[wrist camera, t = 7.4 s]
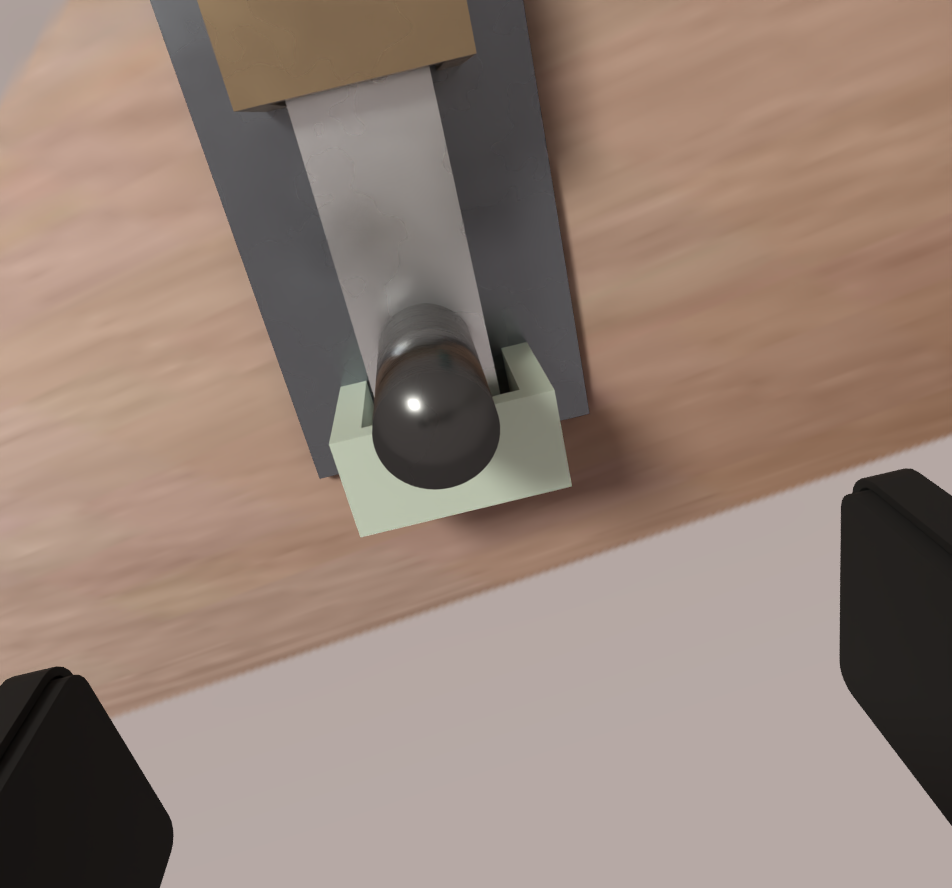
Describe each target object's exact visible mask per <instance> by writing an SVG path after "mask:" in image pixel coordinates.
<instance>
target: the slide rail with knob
mask: <svg viewBox="0 0 952 888" xmlns="http://www.w3.org/2000/svg"><path fill="white" fill-rule="evenodd" d="M150 2H151V5H152V7H153V10H154V13H155V16H156V19H157V22H158V24H159V27H160V30H161V33H162V36H163V38H164V41H165V44H166V47H167V50H168V53H169V55H170V58H171V61H172V64H173V67H174V69H175V72H176V75H177V78H178V81H179V84H180V86H181V89H182V92H183V95H184V98H185V100H186V103H187V106H188V109H189V112H190V115H191V117H192V120H193V123H194V126H195V129H196V131H197V134H198V137H199V140H200V143H201V146H202V148H203V151H204V154H205V157H206V160H207V162H208V165H209V168H210V171H211V174H212V177H213V179H214V182H215V185H216V188H217V191H218V193H219V196H220V199H221V202H222V205H223V208H224V210H225V213H226V216H227V219H228V222H229V224H230V227H231V230H232V233H233V236H234V239H235V241H236V244H237V247H238V250H239V253H240V255H241V258H242V261H243V264H244V267H245V270H246V272H247V275H248V278H249V281H250V284H251V286H252V289H253V292H254V295H255V298H256V301H257V303H258V306H259V309H260V312H261V315H262V317H263V320H264V323H265V326H266V329H267V332H268V334H269V337H270V340H271V343H272V346H273V348H274V351H275V354H276V357H277V360H278V363H279V365H280V368H281V371H282V374H283V377H284V379H285V382H286V385H287V388H288V391H289V394H290V396H291V399H292V402H293V405H294V408H295V410H296V413H297V416H298V419H299V422H300V425H301V427H302V430H303V433H304V436H305V439H306V441H307V444H308V447H309V450H310V453H311V456H312V458H313V461H314V464H315V467H316V470H317V472H318V475H319V478H320V479H321V478H325V477H329V476H333V475H337V474H339V473H338V470H337V467H336V464H335V461H334V458H333V455H332V452H331V449H330V446H329V441H330V437H331V432H332V427H333V422H334V417H335V412H336V407H337V402H338V397H339V392H340V387H342V386H346V385H351V384H355V383H359V382H363V381H367V384H368V388H369V391H370V394H371V397H372V401H373V404H374V395H373V392H372V389H371V385H370V382H369V379H368V375H367V372H366V369H365V365H364V362H363V359H362V355H361V352H360V349H359V345H358V342H357V339H356V335H355V332H354V329H353V325H352V322H351V319H350V315H349V312H348V309H347V305H346V302H345V299H344V295H343V292H342V289H341V285H340V282H339V279H338V275H337V272H336V269H335V265H334V262H333V259H332V255H331V252H330V249H329V245H328V242H327V239H326V235H325V232H324V229H323V225H322V222H321V219H320V215H319V212H318V209H317V205H316V202H315V199H314V195H313V192H312V189H311V185H310V182H309V179H308V175H307V172H306V169H305V165H304V162H303V159H302V155H301V152H300V149H299V145H298V142H297V139H296V135H295V132H294V129H293V125H292V122H291V119H290V115H289V112H288V109H287V105H286V102H285V101H286V100H290V99H294V98H298V97H303V96H307V95H311V94H315V93H319V92H323V91H328V90H332V89H336V88H340V87H344V86H348V85H352V84H357V83H361V82H365V81H369V80H373V79H377V78H382V77H386V76H390V75H394V74H398V73H402V72H406V71H411V70H415V69H419V68H423V67H427V66H429V68H430V72H431V77H432V81H433V86H434V91H435V95H436V100H437V104H438V109H439V114H440V118H441V123H442V127H443V132H444V137H445V141H446V146H447V151H448V155H449V160H450V164H451V169H452V174H453V178H454V183H455V187H456V192H457V197H458V201H459V206H460V210H461V215H462V220H463V224H464V229H465V234H466V238H467V243H468V247H469V252H470V257H471V261H472V266H473V270H474V275H475V280H476V284H477V289H478V293H479V298H480V303H481V307H482V312H483V317H484V321H485V326H486V330H487V335H488V340H489V344H490V349H491V353H492V358H493V363H494V367H495V372H496V376H497V381H498V386H499V390H500V394H504V393H508V392H510V389H509V384H508V379H507V375H506V370H505V365H504V360H503V356H502V351H501V348H504V347H508V346H512V345H517V344H521V343H525V342H527V343H528V345H529V347H530V348H531V350H532V352H533V354H534V355H535V357H536V359H537V361H538V362H539V364H540V366H541V367H542V369H543V371H544V373H545V374H546V376H547V378H548V380H549V381H550V383H551V385H552V387H553V388H554V390H555V396H556V401H557V407H558V412H559V418H560V421H561V420H565V419H570V418H574V417H578V416H582V415H586V414H589V408H588V402H587V396H586V390H585V383H584V377H583V371H582V365H581V358H580V352H579V346H578V340H577V333H576V327H575V321H574V315H573V309H572V302H571V296H570V290H569V284H568V277H567V271H566V265H565V259H564V253H563V246H562V240H561V234H560V228H559V221H558V215H557V209H556V203H555V196H554V190H553V184H552V178H551V172H550V165H549V159H548V153H547V147H546V140H545V134H544V128H543V122H542V116H541V109H540V103H539V97H538V91H537V84H536V78H535V72H534V66H533V59H532V53H531V47H530V41H529V35H528V28H527V22H526V16H525V10H524V3H523V0H150Z"/></svg>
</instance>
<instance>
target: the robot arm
mask: <svg viewBox="0 0 952 888" xmlns="http://www.w3.org/2000/svg"><path fill="white" fill-rule="evenodd" d="M840 570H841V572H840V668H841V672H842V676H843V678H844V681H845V683H846V685H847V687H848V689H849V691H850V692H851V694H852V695H853V697H854V698H855V699H856V700H857V702H858V703H859V704H860V706H861V707H862V708H863V710H864V711H865V712H866V714H867V715H868V716H869V717H870V719H871V720H872V722H873V723H874V724H875V726H876V727H877V728H878V729H879V731H880V732H881V733H882V735H883V736H884V737H885V739H886V740H887V741H888V742H889V744H890V745H891V747H892V748H893V749H894V750H895V752H896V753H897V754H898V756H899V757H900V758H901V760H902V761H903V762H904V763H905V765H906V766H907V767H908V769H909V770H910V772H911V773H912V774H913V775H914V777H915V778H916V779H917V781H918V782H919V783H920V784H921V786H922V787H923V789H924V790H925V791H926V792H927V794H928V795H929V796H930V798H931V799H932V800H933V802H934V803H935V804H936V806H937V807H938V808H939V809H940V811H941V812H942V814H943V815H944V816H945V817H946V819H947V820H948V821H949V823H950V824H951V825H952V496H951V495H950V494H948V493H947V492H945V491H944V490H943V489H941V488H940V487H939V486H937V485H936V484H934V483H933V482H932V481H930V480H929V479H927V478H926V477H924V476H923V475H922V474H920V473H919V472H917V471H915V470H913V469H901V470H897V471H892V472H888V473H884V474H880V475H875V476H871V477H867V478H862V479H860V480H858V481H857V482H856V483H855V485H854V487H853V493H852V494H848V495H846V496H844V498H843V500H842V504H841V567H840ZM172 845H173V827H172V822H171V819H170V817H169V815H168V813H167V812H166V810H165V808H164V807H163V805H162V803H161V802H160V800H159V798H158V797H157V795H156V794H155V792H154V790H153V789H152V787H151V785H150V784H149V782H148V780H147V779H146V777H145V776H144V774H143V772H142V770H141V769H140V767H139V766H138V764H137V762H136V761H135V759H134V757H133V756H132V754H131V752H130V751H129V749H128V747H127V746H126V744H125V742H124V741H123V739H122V738H121V736H120V734H119V733H118V731H117V729H116V728H115V726H114V724H113V723H112V721H111V719H110V718H109V716H108V714H107V713H106V711H105V709H104V708H103V706H102V704H101V703H100V701H99V700H98V698H97V696H96V695H95V693H94V691H93V690H92V688H91V686H90V685H89V683H88V682H87V681H86V679H85V678H84V677H82V676H80V675H73V674H72V673H71V672H70V671H69V670H68V669H66V668H64V667H52V668H48V669H44V670H39V671H35V672H31V673H27V674H22V675H18V676H14V677H11V678H9V679H7V680H5V681H4V682H3V684H2V685H1V686H0V888H160V885H161V882H162V879H163V876H164V873H165V869H166V866H167V863H168V859H169V856H170V853H171V850H172Z"/></svg>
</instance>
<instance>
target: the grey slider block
mask: <svg viewBox="0 0 952 888" xmlns="http://www.w3.org/2000/svg"><path fill="white" fill-rule="evenodd" d="M285 102H286V105H287V109H288V112H289V115H290V119H291V122H292V125H293V129H294V132H295V135H296V139H297V142H298V145H299V149H300V152H301V155H302V159H303V162H304V165H305V169H306V172H307V175H308V179H309V182H310V185H311V189H312V192H313V195H314V199H315V202H316V205H317V209H318V212H319V215H320V219H321V222H322V225H323V229H324V232H325V235H326V239H327V242H328V245H329V249H330V252H331V255H332V259H333V262H334V265H335V269H336V272H337V275H338V279H339V282H340V285H341V289H342V292H343V295H344V299H345V302H346V305H347V309H348V312H349V315H350V319H351V322H352V325H353V329H354V332H355V335H356V339H357V342H358V345H359V349H360V352H361V355H362V359H363V362H364V365H365V369H366V372H367V375H368V379H369V382H370V385H371V389H372V392H373V395H374V411H373V424H372V439H373V444H374V448H375V451H376V453H377V456H378V458H379V459H380V461H381V463H382V464H383V465H384V467H385V468H386V469H387V470H388V471H389V472H390V473H391V474H392V475H394V476H395V477H396V478H397V479H399V480H401V481H403V482H404V483H407V484H409V485H411V486H415V487H418V488H423V489H433V490H437V489H447V488H452V487H455V486H458V485H461V484H463V483H465V482H467V481H469V480H471V479H472V478H474V477H475V476H477V475H478V474H479V473H480V472H481V471H482V470H483V469H484V468H485V467H486V466H487V465H488V464H489V462H490V461H491V459H492V458H493V456H494V454H495V452H496V449H497V447H498V443H499V438H500V421H499V416H498V413H497V410H496V407H495V404H494V401H493V398H492V396H496V395H500V390H499V386H498V381H497V376H496V372H495V367H494V363H493V358H492V353H491V349H490V344H489V340H488V335H487V330H486V326H485V321H484V317H483V312H482V307H481V303H480V298H479V293H478V289H477V284H476V280H475V275H474V270H473V266H472V261H471V257H470V252H469V247H468V243H467V238H466V234H465V229H464V224H463V220H462V215H461V210H460V206H459V201H458V197H457V192H456V187H455V183H454V178H453V174H452V169H451V164H450V160H449V155H448V151H447V146H446V141H445V137H444V132H443V127H442V123H441V118H440V114H439V109H438V104H437V100H436V95H435V91H434V86H433V81H432V77H431V72H430V68H429V66H427V67H423V68H419V69H415V70H411V71H406V72H402V73H398V74H394V75H390V76H386V77H382V78H377V79H373V80H369V81H365V82H361V83H357V84H352V85H348V86H344V87H340V88H336V89H332V90H328V91H323V92H319V93H315V94H311V95H307V96H303V97H298V98H294V99H290V100H286V101H285Z"/></svg>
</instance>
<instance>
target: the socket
mask: <svg viewBox="0 0 952 888" xmlns="http://www.w3.org/2000/svg"><path fill="white" fill-rule="evenodd" d="M501 351H502V356H503V360H504V365H505V370H506V375H507V379H508V384H509V389H510V392H508V393H504V394H500V395H496V396H492V398H493V401H494V404H495V407H496V410H497V413H498V416H499V421H500V438H499V443H498V447H497V449H496V452H495V454H494V456H493V458H492V459H491V461H490V462H489V464H488V465H487V466H486V467H485V468H484V469H483V470H482V471H481V472H480V473H479V474H478V475H477V476H475V477H474V478H472V479H471V480H469V481H467V482H465V483H463V484H461V485H458V486H455V487H452V488H447V489H437V490H433V489H423V488H418V487H415V486H411V485H409V484H407V483H404V482H403V481H401V480H399V479H397V478H396V477H395V476H394V475H392V474H391V473H390V472H389V471H388V470H387V469H386V468H385V467H384V465H383V464H382V463H381V461H380V459H379V458H378V456H377V453H376V451H375V448H374V444H373V439H372V424H373V411H374V404H373V401H372V397H371V394H370V391H369V388H368V384H367V381H363V382H359V383H355V384H351V385H346V386H342V387H340V392H339V397H338V402H337V407H336V412H335V417H334V422H333V427H332V432H331V437H330V441H329V446H330V449H331V452H332V455H333V458H334V461H335V464H336V467H337V470H338V473H339V476H340V479H341V481H342V484H343V487H344V490H345V493H346V496H347V499H348V502H349V505H350V508H351V511H352V514H353V517H354V520H355V523H356V526H357V528H358V531H359V534H360V537H364V536H368V535H372V534H377V533H381V532H385V531H389V530H393V529H397V528H401V527H406V526H410V525H414V524H418V523H422V522H426V521H430V520H435V519H439V518H443V517H447V516H451V515H455V514H459V513H464V512H468V511H472V510H476V509H480V508H484V507H488V506H493V505H497V504H501V503H505V502H509V501H513V500H517V499H522V498H526V497H530V496H534V495H538V494H542V493H546V492H551V491H555V490H559V489H563V488H567V487H571V486H572V484H571V478H570V473H569V467H568V462H567V456H566V451H565V445H564V440H563V434H562V429H561V423H560V418H559V412H558V407H557V401H556V396H555V390H554V388H553V387H552V385H551V383H550V381H549V380H548V378H547V376H546V374H545V373H544V371H543V369H542V367H541V366H540V364H539V362H538V361H537V359H536V357H535V355H534V354H533V352H532V350H531V348H530V347H529V345H528V343H527V342H525V343H521V344H517V345H512V346H508V347H504V348H501Z"/></svg>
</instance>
